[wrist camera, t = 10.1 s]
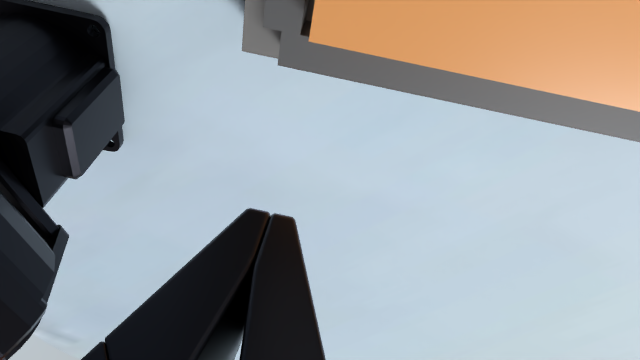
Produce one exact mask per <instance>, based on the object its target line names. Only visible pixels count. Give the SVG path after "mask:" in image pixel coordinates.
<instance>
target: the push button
mask: <svg viewBox="0 0 640 360" xmlns="http://www.w3.org/2000/svg"><path fill="white" fill-rule="evenodd" d="M309 42H313V43H318V44H323V45H328V46H332V47H337V48H342V49H346V50H351V51H356V52H361V53H365V54H370V55H375V56H379V57H384V58H389V59H394V60H398V61H403V62H408V63H412V64H417V65H422V66H426V67H431V68H436V69H441V70H445V71H450V72H455V73H459V74H464V75H469V76H474V77H478V78H483V79H488V80H492V81H497V82H502V83H507V84H511V85H516V86H521V87H525V88H530V89H535V90H540V91H544V92H549V93H554V94H558V95H563V96H568V97H573V98H577V99H582V100H587V101H591V102H596V103H601V104H606V105H610V106H615V107H620V108H624V109H629V110H634V111H638V112H640V0H315V3H314V10H313V16H312V23H311V29H310V36H309Z"/></svg>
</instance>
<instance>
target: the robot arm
mask: <svg viewBox="0 0 640 360" xmlns="http://www.w3.org/2000/svg"><path fill="white" fill-rule="evenodd" d="M92 25H93V26H96V27H97V28H98V29H99V32H100V33H97V32H95V31H94V30H93V28H92ZM124 121H125V120H124V111H123V102H122V93H121V84H120V76H119V74H118V72H117V71H116V69H115V64H114V55H113V47H112V38H111V30H110V27H109V24H108V23H107V22H106V20H104V19H103V18H102V17H100V16H97V15H93V14H88V13H84V12H79V11H74V10H69V9H65V8H60V7H55V6H51V5H46V4H41V3H37V2H32V1H27V0H0V360H8V359H9V358H10V357H11V356H12V355H13V354H14V353H16V352H17V351H18V350H19V349H20V348H21V347H22V346H23V344H24V343H25V342H26V341H27V340H28V339H29V338H30V336H31V335H32V334H33V332H34V331H35V329H36V328H37V326H38V325H39V323H40V320H41V318H42V316H43V315H44V313H45V310H46V307H47V302H48V299H49V296H50V293H51V290H52V287H53V283H54V280H55V277H56V274H57V271H58V268H59V265H60V262H61V259H62V256H63V253H64V250H65V247H66V244H67V241H68V238H69V235H68V234H67V232H66V231H65V230H64V229H63V228H62V226H61V225H56V223H55V222H54V221H53V220H52V219H51V217H50V216H49V215H48V214H47V213H46V212H45V210H44V209H43V208H44V207H45V205H46V204H47V203H48V202H49V201H50V199H51V198H52V197H53V196H54V194H55V193H56V192H57V191H58V190H59V188H60V187H61V186H62V185H63V184H64V182H65V181H66V180H67V179H68V178H72V179H77V178H79V177H80V176H82V175H83V174H84V173H85V171H86V170H87V169H88V168H89V166H90V165H91V164H92V163H93V161H94V160H95V159H96V158H97V156H98V155H99V154H100V153H101V151H102V150H106V151H112V152H115V151H118V149H119V148H120V147H121V146H122V144H123V141H124V140H123V131H122V125H123V124H124ZM110 140H112V141H113V142H111V141H110ZM242 338H243V339H242ZM241 341H242V347H241V354H240V360H326V359H325V355H324V350H323V346H322V341H321V336H320V332H319V327H318V323H317V318H316V313H315V309H314V304H313V300H312V295H311V290H310V286H309V281H308V277H307V272H306V267H305V263H304V258H303V254H302V249H301V244H300V240H299V235H298V231H297V226H296V222H295V219H294V218H293V217H290V216H285V215H280V214H275V213H274V214H272V215H270V213H269V212H266V211H262V210H257V209H252V208H249V209H246V210H245V211H244V212H243V213H242V214H241V215H240V216H238V217H237V218H236V219H235V220H234V221H233V222H232V223H231V224H230V225H229V226H227V227H226V228H225V229H224V230H223V231H222V232H221V233H220V234H219V235H218V236H217V237H215V238H214V239H213V240H212V241H211V242H210V243H209V244H208V245H207V246H206V247H204V248H203V249H202V250H201V251H200V252H199V253H198V254H197V255H196V256H195V257H193V258H192V259H191V260H190V261H189V262H188V263H187V264H186V265H185V266H184V267H182V268H181V269H180V270H179V271H178V272H177V273H176V274H175V275H174V276H173V277H172V278H170V279H169V280H168V281H167V282H166V283H165V284H164V285H163V286H162V287H161V288H159V289H158V290H157V291H156V292H155V293H154V294H153V295H152V296H151V297H150V298H148V299H147V300H146V301H145V302H144V303H143V304H142V305H141V306H140V307H139V308H137V309H136V310H135V311H134V312H133V313H132V314H131V315H130V316H129V317H128V318H127V319H125V320H124V321H123V322H122V323H121V324H120V325H119V326H118V327H117V328H116V329H114V330H113V331H112V332H111V333H110V334H109V335H108V336H107V337H106V338H105V342H100V343H99V344H98V345H97V346H95V347H94V348H93V349H92V350H91V351H90V352H89V353H88V354H87V355H86V356H85V357H83V358H82V359H81V360H234V359H235V356H236V354H237V351H238V349H239V346H240V344H241Z"/></svg>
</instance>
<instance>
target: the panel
mask: <svg viewBox="0 0 640 360" xmlns="http://www.w3.org/2000/svg"><path fill="white" fill-rule="evenodd" d="M314 3H315V0H245V9H244V26H243V42H242V51H244V52H249V53H254V54H258V55H263V56H268V57H273V58H277V59H278V65H279V66H284V67H288V68H293V69H298V70H303V71H307V72H312V73H317V74H321V75H326V76H331V77H335V78H340V79H345V80H350V81H354V82H359V83H364V84H368V85H373V86H378V87H382V88H387V89H392V90H397V91H401V92H406V93H411V94H415V95H420V96H425V97H430V98H434V99H439V100H444V101H448V102H453V103H458V104H462V105H467V106H472V107H477V108H481V109H486V110H491V111H495V112H500V113H505V114H510V115H514V116H519V117H524V118H528V119H533V120H538V121H542V122H547V123H552V124H557V125H561V126H566V127H571V128H575V129H580V130H585V131H589V132H594V133H599V134H604V135H608V136H613V137H618V138H622V139H627V140H632V141H637V142H640V112H638V111H634V110H629V109H624V108H620V107H615V106H610V105H606V104H601V103H596V102H591V101H587V100H582V99H577V98H573V97H568V96H563V95H558V94H554V93H549V92H544V91H540V90H535V89H530V88H525V87H521V86H516V85H511V84H507V83H502V82H497V81H492V80H488V79H483V78H478V77H474V76H469V75H464V74H459V73H455V72H450V71H445V70H441V69H436V68H431V67H426V66H422V65H417V64H412V63H408V62H403V61H398V60H394V59H389V58H384V57H379V56H375V55H370V54H365V53H361V52H356V51H351V50H346V49H342V48H337V47H332V46H328V45H323V44H318V43H313V42H309V36H310V29H311V23H312V16H313V10H314Z"/></svg>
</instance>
